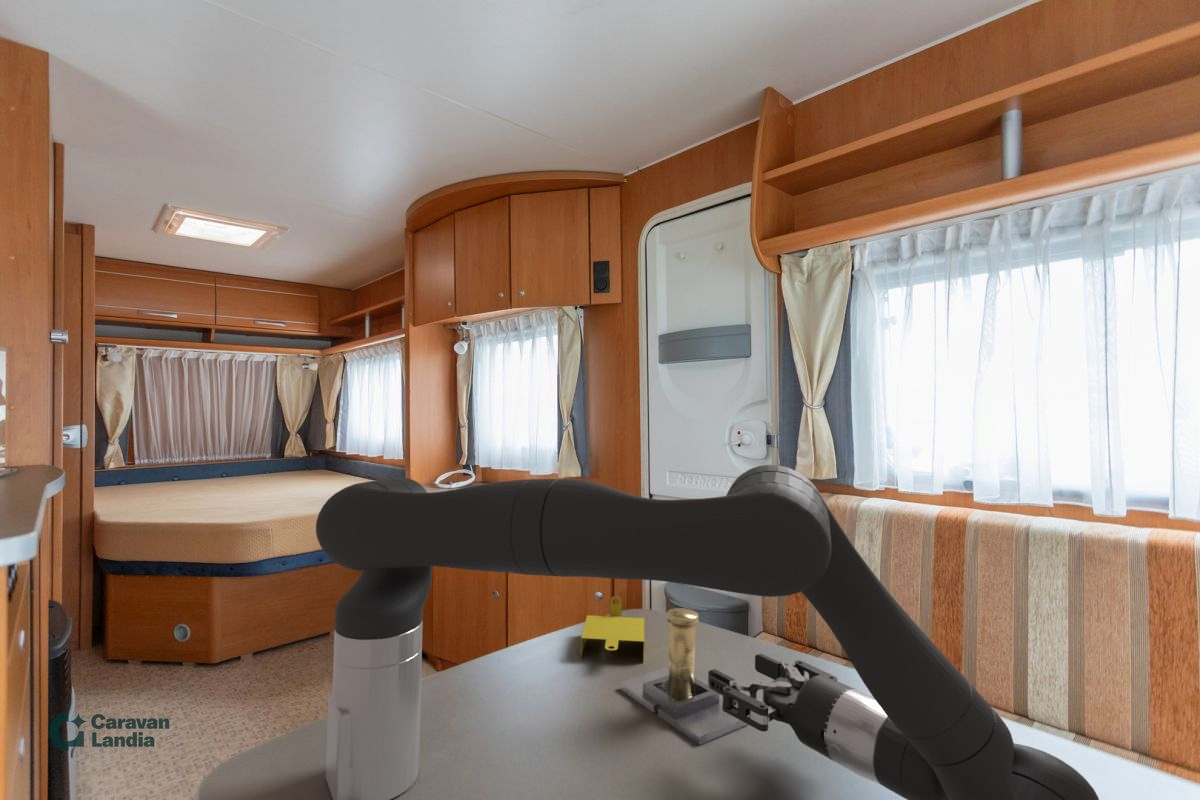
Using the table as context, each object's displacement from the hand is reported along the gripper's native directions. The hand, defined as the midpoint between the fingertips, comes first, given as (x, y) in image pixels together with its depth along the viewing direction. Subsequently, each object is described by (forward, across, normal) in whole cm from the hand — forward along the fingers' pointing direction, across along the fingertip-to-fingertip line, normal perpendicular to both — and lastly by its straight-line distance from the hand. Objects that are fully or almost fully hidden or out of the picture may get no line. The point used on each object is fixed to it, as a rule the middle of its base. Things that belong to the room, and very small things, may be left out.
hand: (734, 669), depth 75 cm
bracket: (+29, -2, +9) cm, 31 cm away
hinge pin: (+10, 0, +8) cm, 12 cm away
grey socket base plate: (+10, 0, +9) cm, 13 cm away
